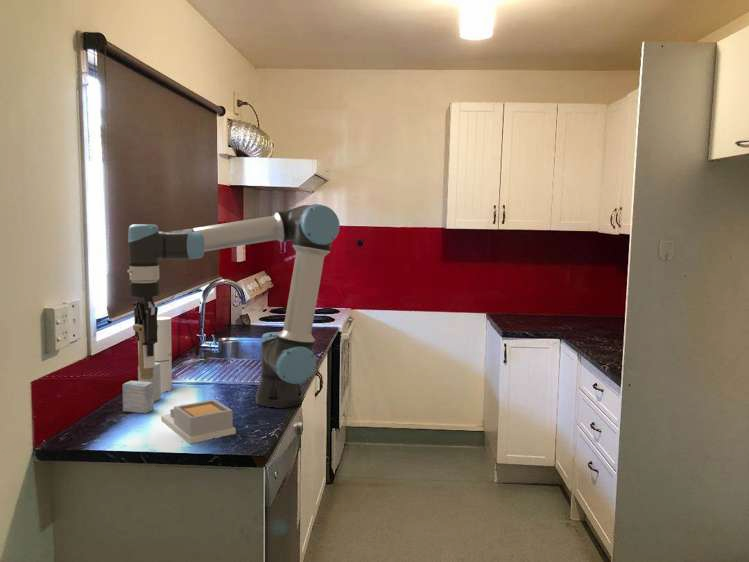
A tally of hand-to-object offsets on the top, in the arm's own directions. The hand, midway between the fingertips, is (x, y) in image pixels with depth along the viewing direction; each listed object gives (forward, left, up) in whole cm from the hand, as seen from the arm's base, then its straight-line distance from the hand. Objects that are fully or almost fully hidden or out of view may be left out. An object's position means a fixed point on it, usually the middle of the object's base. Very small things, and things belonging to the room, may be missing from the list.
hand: (146, 365), depth 161 cm
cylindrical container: (-16, -37, -19) cm, 45 cm away
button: (-12, +9, -15) cm, 21 cm away
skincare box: (-9, -27, -19) cm, 34 cm away
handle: (0, 0, -4) cm, 4 cm away
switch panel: (-12, +5, -18) cm, 23 cm away
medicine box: (-3, -19, -19) cm, 27 cm away
